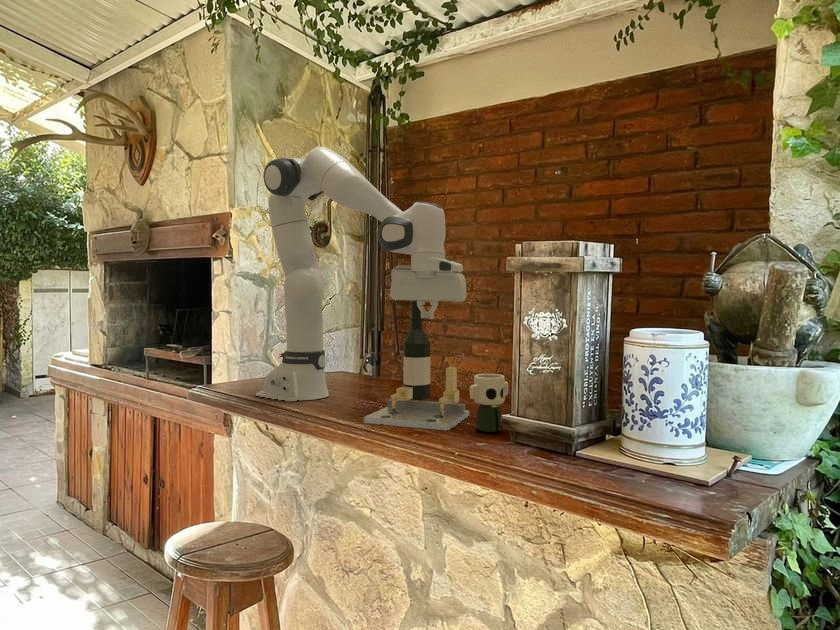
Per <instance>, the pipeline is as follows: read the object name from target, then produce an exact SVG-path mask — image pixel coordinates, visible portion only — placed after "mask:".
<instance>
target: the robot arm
mask: <svg viewBox="0 0 840 630" xmlns="http://www.w3.org/2000/svg"><path fill="white" fill-rule="evenodd" d="M262 177H263V183H264V186H265V188H266V190H267V191H268V192H269V193H270V195H269V196H268V203H267V204H268V214H269V215H268V216H269V221H270V226H271V232H272V235H273V239H274V243H275V250H276V253H277V255H278V259H279V261H280V265H281V268H282V270H283V271H282V272H283V274H284V277H285V279H284V282H283V298H284V312H285V313H284V314H285V322H286V323H285V324H286V351H283V352H282V353H279V354H278V355H279V357H278V358H282V359H281V363H280V364H278V366H276V367H275V368H274V369H273V370H271V371H270V372H269V373H268V374H266V376H265V377H264V381H263V387H262V390H259V391H258V392H257V391H256V393H255V395H256V396H260V397H266V398H265V399H267V398H272V399H271V400H274V399H278V400H277V401H281V400H285V401H284V402H297V400H299V401H310V400H318V399H324V398H327V397H329V396H330V393H329V390H328V387H327V386H328V385H327V382H326V381H327V380H326V375H325V374H326V373H325V366H326V353H325V352H326V350H325V349H324V320H323V318H324V317H323V315H324V314H323V295H324V290H325V284H324V280H323V276H322V272H321V269H320V268H321V267H320V264H319V261H318V258H317V254H316V250H315V246H314V241H313V238H312V234H311V228H310V224H309V220H308V215H307V212H306V202H307V200H310V201H314V200H315V199H317V198H318V197H319V196H321V195H323V194H325V195H326V196H327V197H328V198H329V199H330V200H332V201H333V202H335V203H336V204H337V205H340V206H341V207H345V208H349V209H352V210H356V211H359V212H362V213H366V214H368V215H369V216H372V217H374V218H376V220H378V221H379V222H380V224H379V226H378V230H377V240H378V242H379V245H380V246H381V247H382V248H383V249H384V250H385V251H389V252H390V253H391V252H392V253H396V254H397V253H398V254H403V255H409V256H410V264H404V265H401V264H398V265H396V266H395V267H393V268H392V269H391V271H390V276H391V281H390V282H391V283H390V292H389V296H390V298H391V300H393V301H413V300H417V306H418V308H419V310H420V311H421V318H422V319H428V320H432V319H434V318H435V311H436V309H437V308H438V306H439V302H464V301H465V300H466V298H467V284H466V283H467V281H466V278H465V275H464V274H463V273H462V272H463V271H464V266H463V264H462V263H458V262H456V261H453V260H452V259H446V250H445V240H446V233H447V232H446V216H445V212H444V208H443V207H442V206H441V205H439V204H437V203H432V202H427V201H416V202H413V204H412V206H410V207H409V208H408V209H406V210H402V209H401V208H400V207H398V206H397V205H396V204H395V203H393V202H392V200H390V199H388V197H386V196H385V195H384V194H382V193H381V192H380V191H379V190H378V189H377V188H376V187H375V186H374V185H373V183H371V182H370V181H369V180H368V179H367V178H366V177H365V176H364V175H363V174H362V173H361V172H360V171H359V170H358V169H357V168H356V167H355V166H354V165H352V164H351V162H349V161H348V160H347V159H345V157H344V156H342V155H340V154H339V153H337V152H335V151H334V150H332V149H330V148H328V147H327V146H317V147H316V146H315V147H314V148H312V149H310V151H309V152H308V153H307V154H306V157H290V158H285V157H280V158H275V159H272V160H270V161H268V162H267V164H266V166H264V170H263V175H262ZM426 301H429V303H430V304H429V305H430V309H429V311H426V308H425V307H424V305H426ZM260 397H259V398H260Z"/></svg>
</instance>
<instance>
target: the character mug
mask: <svg viewBox="0 0 840 630" xmlns="http://www.w3.org/2000/svg"><path fill="white" fill-rule="evenodd" d="M505 379H506V378H505V375H503V374H498V373H479V374H478V373H477V374H475V375H474V377H473V384H472V385H470V386H469V399H471V400H474V403H476V404H479V406H478V409H477V413H476V421H475V422H476V423H475V429H478V430H480V431H482V432H484V433H485V432H487V433H489V432H490V433H494V432H496V431H497V429H498V431H499V432H500V431H502V430H503V426H502V427H501V422H500V420H501V417H502V411H501V407H500V405H501V404H503V403H504V402H505V400H506V396H507V395H509V383H508V381H505Z"/></svg>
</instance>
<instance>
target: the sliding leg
mask: <svg viewBox="0 0 840 630" xmlns="http://www.w3.org/2000/svg"><path fill="white" fill-rule="evenodd" d="M457 373H458V367H457V366H454V367H453V366H449V367H445V391H442V395H443V396H442V397H440V398H438V399H439V401H438V402H439V403H440V415H444V404H456V403H457V404H459V403H460V390H459V389H458V388H457V387H458V385H457V384H458V381H457V380H458V374H457Z"/></svg>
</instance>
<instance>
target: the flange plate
mask: <svg viewBox="0 0 840 630" xmlns="http://www.w3.org/2000/svg"><path fill="white" fill-rule="evenodd" d="M412 398H413V387H404V386H400V387H397V388H396V392H395V393H393V394H391V395H390V398H389V399H387V406H385V407H384V408H380V409H379V410H376V411H374V412H372V413H370V414H368V415H366V416H364V417H363V423H364V424H370V425H380V424H382V426H394V427H404V428H414V429H415V428H416V429H425V430H427V429H428V430H438V431H447V430H448V431H450V430H451V428H452V429H453V428H454V427H456V426H457V425H459V424H460V423H462V422H463V421H465V420H466V419H467V418H469V417H470V410H467V409H466V404H465V403H456V404H444V415H440V403H439V401H430V400H429V401H428V400H417V399H412ZM468 416H469V417H468ZM465 418H466V419H465ZM464 419H465V420H464ZM462 420H463V421H462ZM461 421H462V422H461ZM458 423H459V424H458ZM383 424H384V425H383Z"/></svg>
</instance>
